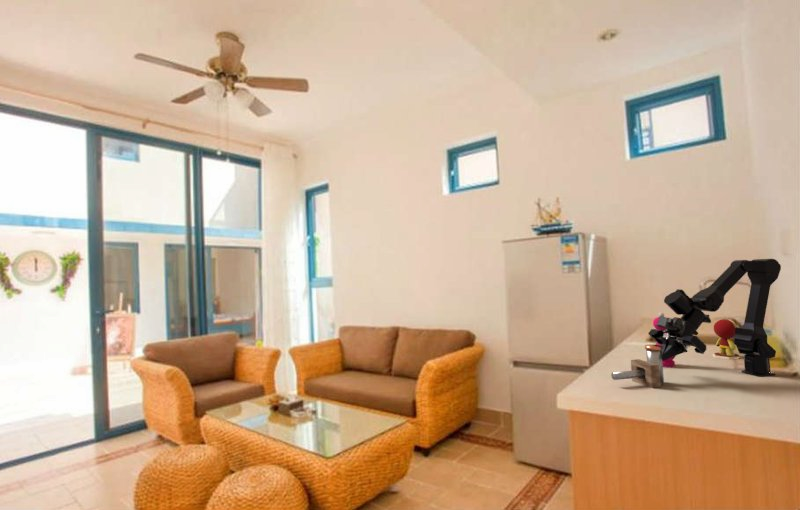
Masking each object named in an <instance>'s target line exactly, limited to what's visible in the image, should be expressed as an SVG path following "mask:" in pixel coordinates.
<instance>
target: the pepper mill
mask: <svg viewBox="0 0 800 510" xmlns="http://www.w3.org/2000/svg"><path fill="white" fill-rule="evenodd" d="M659 317H665V314H664V312H659V313H658V316H656V317H655V318H654V319H653V320H652V325H653V327H654V329H658V330H662V331H663V332H664V333H665V334H669V333H667V332H666V331H665V330H666V329H665V328H662V327H660V326H657V322H658V319H659ZM655 342H656V341H655ZM655 345H660V344H658V343H657V342H656V343H655ZM661 346H662V345H661ZM675 358H676V356H673V357H671V358H669V359H667V360H664V361H662V362H663V368H674V367H676V362H675V361H674V359H675Z"/></svg>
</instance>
